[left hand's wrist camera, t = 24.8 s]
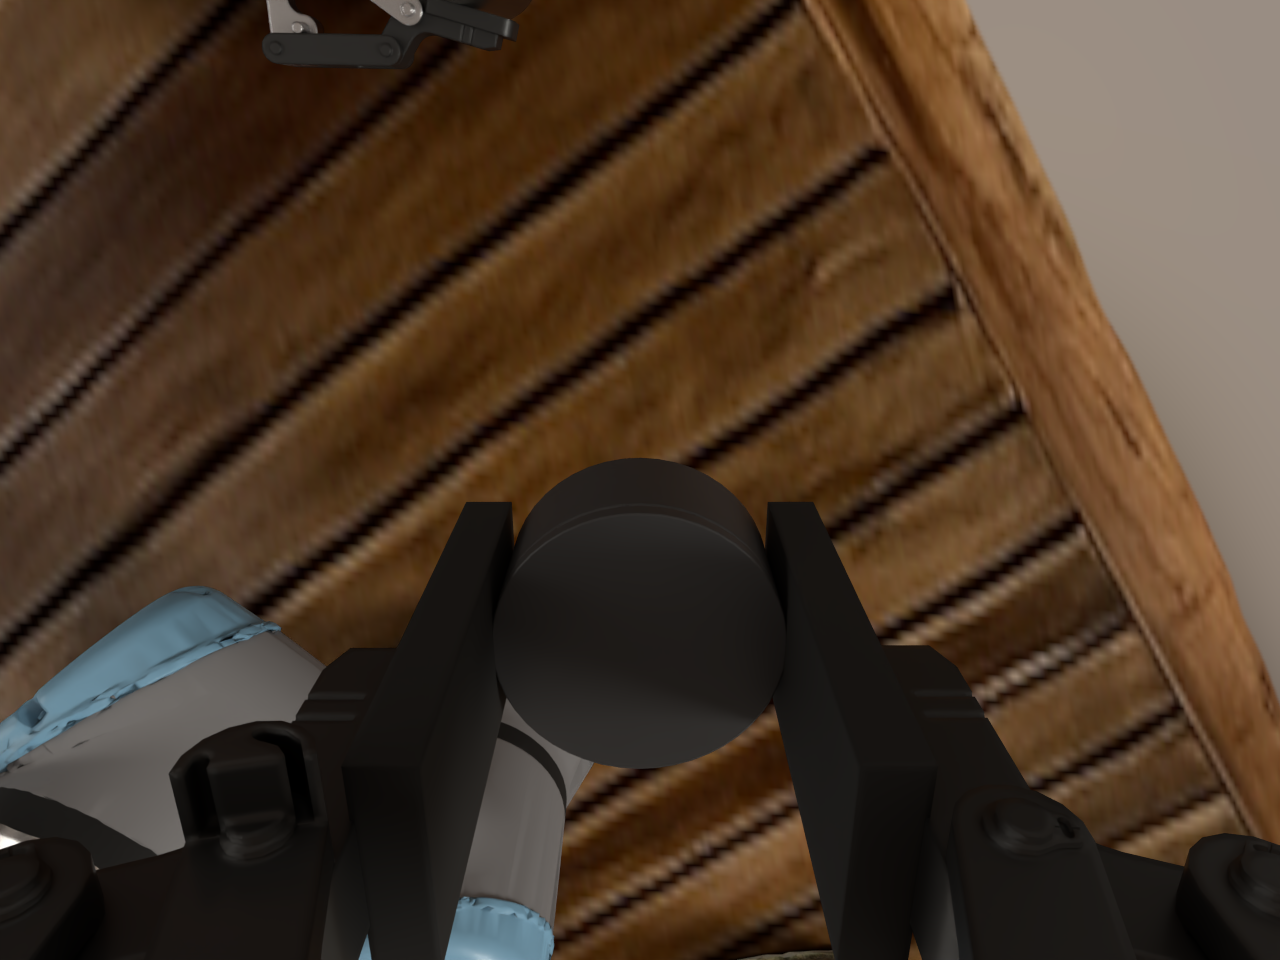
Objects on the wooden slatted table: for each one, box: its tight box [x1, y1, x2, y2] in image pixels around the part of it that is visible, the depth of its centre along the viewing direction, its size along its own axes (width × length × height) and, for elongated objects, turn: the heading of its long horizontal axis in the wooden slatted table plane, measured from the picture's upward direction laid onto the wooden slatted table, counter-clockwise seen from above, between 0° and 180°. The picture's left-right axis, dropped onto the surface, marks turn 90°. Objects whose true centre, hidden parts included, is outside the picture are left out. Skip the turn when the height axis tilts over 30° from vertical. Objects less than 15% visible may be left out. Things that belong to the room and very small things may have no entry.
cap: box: [493, 458, 787, 769], centre depth 14 cm, size 4×4×2 cm
